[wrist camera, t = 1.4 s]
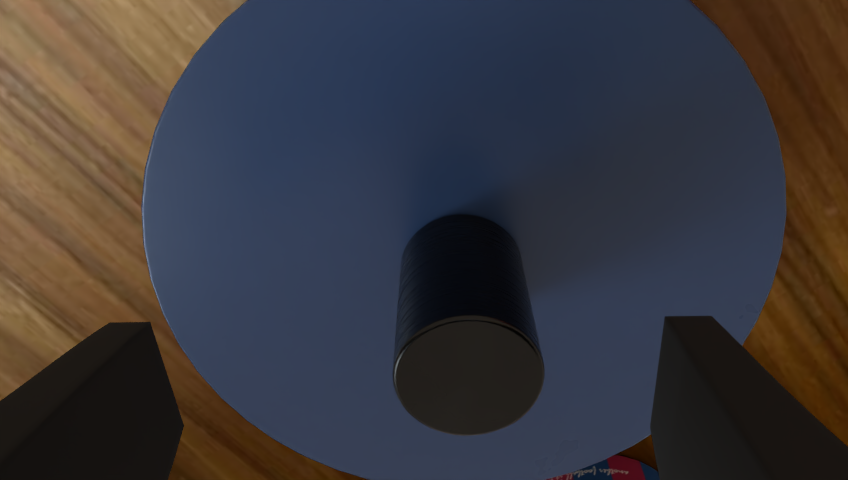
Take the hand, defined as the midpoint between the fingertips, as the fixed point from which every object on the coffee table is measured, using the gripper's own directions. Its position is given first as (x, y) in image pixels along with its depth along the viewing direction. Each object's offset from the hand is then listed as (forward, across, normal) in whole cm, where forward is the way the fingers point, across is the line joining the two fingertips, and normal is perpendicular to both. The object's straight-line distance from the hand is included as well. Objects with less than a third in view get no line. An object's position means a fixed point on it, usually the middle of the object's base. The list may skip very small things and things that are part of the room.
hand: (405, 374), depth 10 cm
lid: (+5, -1, +1) cm, 5 cm away
